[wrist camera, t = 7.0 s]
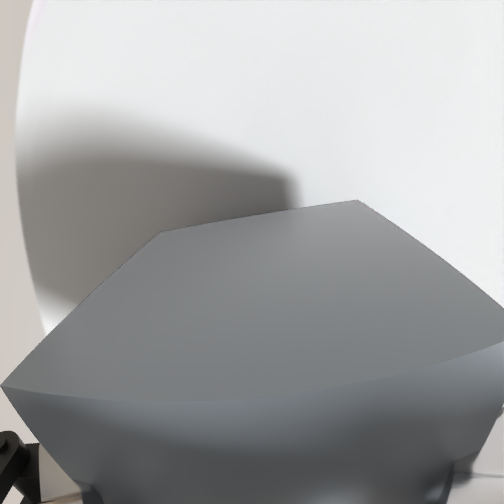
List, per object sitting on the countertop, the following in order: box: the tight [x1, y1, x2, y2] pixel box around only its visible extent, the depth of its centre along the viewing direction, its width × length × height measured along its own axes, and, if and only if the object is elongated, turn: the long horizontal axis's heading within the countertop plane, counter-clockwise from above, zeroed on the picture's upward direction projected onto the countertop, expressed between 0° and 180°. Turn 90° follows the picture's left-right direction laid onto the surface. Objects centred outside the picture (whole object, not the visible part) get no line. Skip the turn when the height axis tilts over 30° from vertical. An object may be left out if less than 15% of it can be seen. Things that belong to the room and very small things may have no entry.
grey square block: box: [0, 200, 504, 504], centre depth 8 cm, size 7×7×9 cm
